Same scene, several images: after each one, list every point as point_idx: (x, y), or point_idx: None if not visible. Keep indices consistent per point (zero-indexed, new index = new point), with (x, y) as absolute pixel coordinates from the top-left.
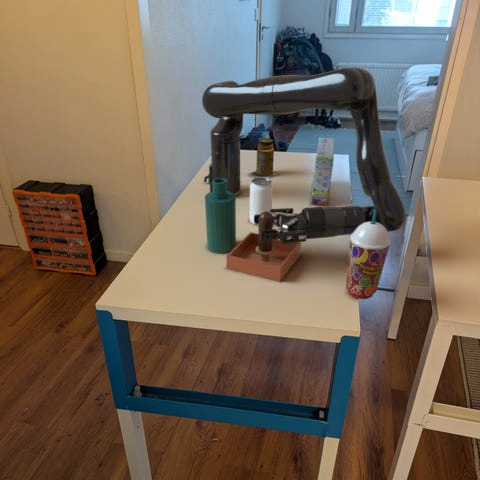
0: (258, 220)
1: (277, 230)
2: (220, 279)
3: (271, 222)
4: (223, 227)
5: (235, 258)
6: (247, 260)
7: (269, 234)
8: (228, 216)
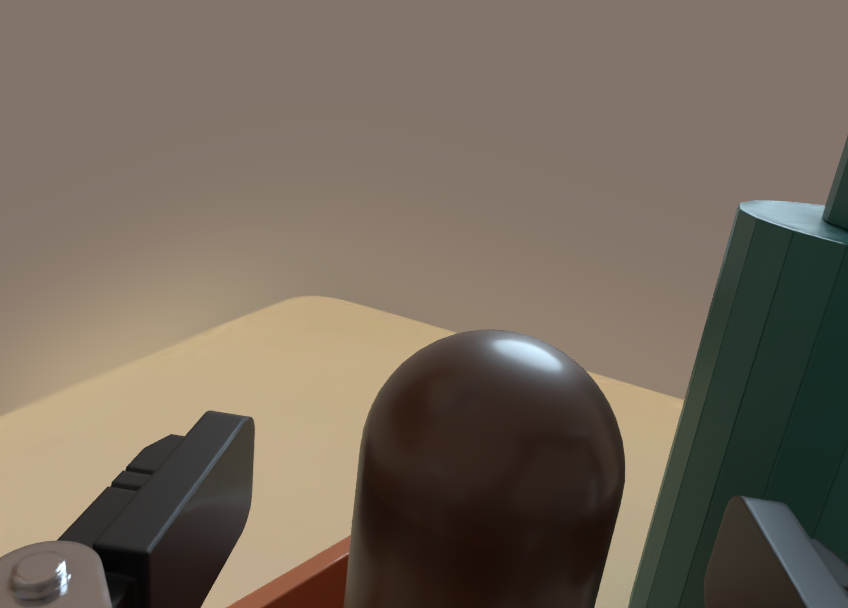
0: (732, 592)
1: (83, 555)
2: (263, 534)
3: (369, 514)
4: (683, 447)
5: (338, 547)
6: (245, 598)
7: (118, 483)
8: (738, 382)
